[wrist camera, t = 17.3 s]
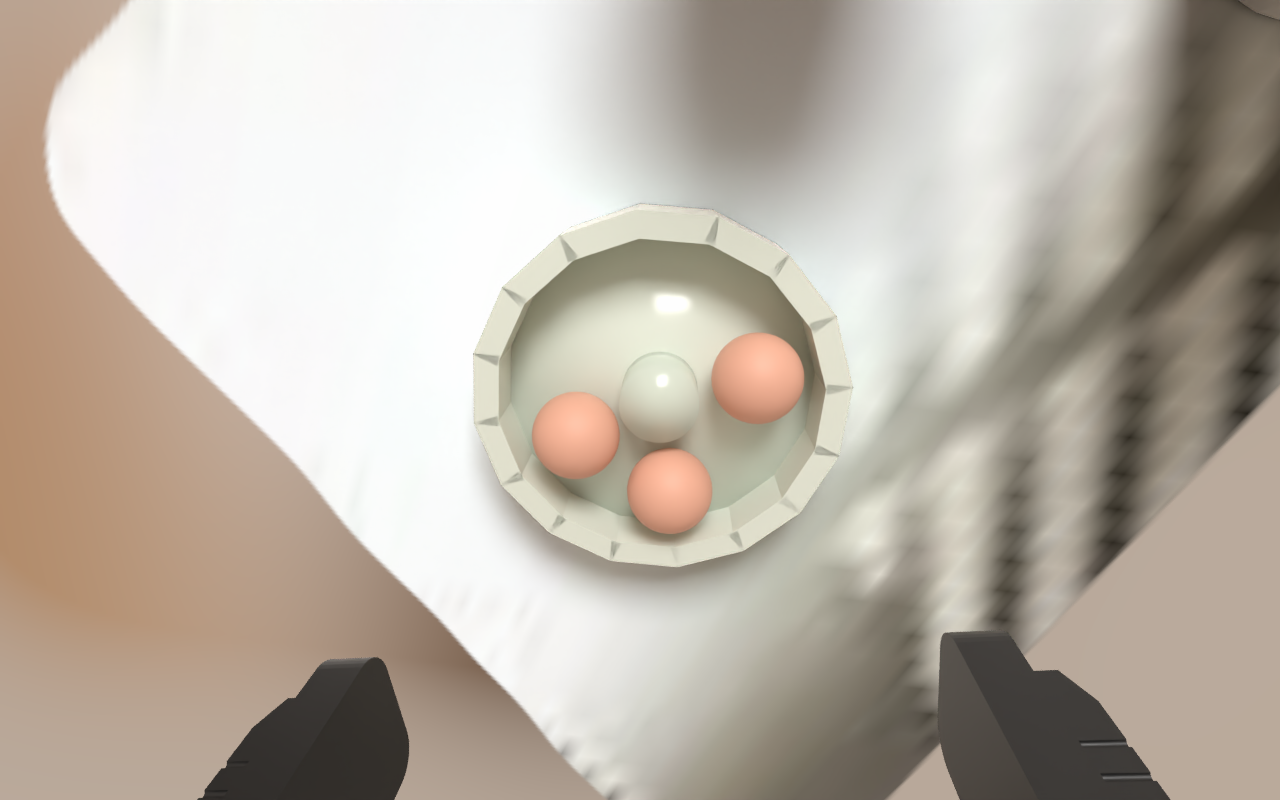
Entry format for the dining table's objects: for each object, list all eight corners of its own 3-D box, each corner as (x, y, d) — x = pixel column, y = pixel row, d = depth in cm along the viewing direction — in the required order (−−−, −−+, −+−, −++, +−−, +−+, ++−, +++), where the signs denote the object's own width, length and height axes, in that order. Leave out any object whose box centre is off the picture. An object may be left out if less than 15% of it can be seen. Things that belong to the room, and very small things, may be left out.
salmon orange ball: (801, 326, 27) (820, 350, 24) (788, 408, 28) (803, 442, 25) (714, 319, 27) (720, 342, 24) (704, 401, 28) (708, 434, 25)
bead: (516, 391, 28) (523, 444, 25) (597, 363, 28) (614, 413, 25) (544, 453, 30) (553, 508, 27) (619, 427, 30) (637, 479, 27)
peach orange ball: (710, 502, 30) (719, 547, 27) (631, 509, 30) (630, 554, 27) (705, 430, 29) (714, 468, 26) (623, 437, 29) (621, 476, 26)
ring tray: (860, 221, 27) (884, 230, 24) (801, 540, 32) (814, 580, 29) (493, 191, 27) (471, 195, 24) (493, 511, 32) (475, 548, 29)
